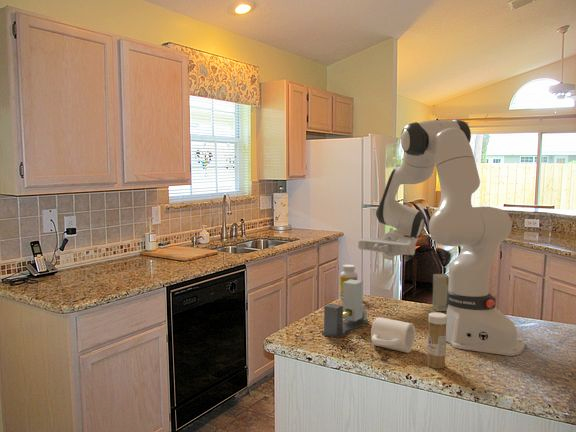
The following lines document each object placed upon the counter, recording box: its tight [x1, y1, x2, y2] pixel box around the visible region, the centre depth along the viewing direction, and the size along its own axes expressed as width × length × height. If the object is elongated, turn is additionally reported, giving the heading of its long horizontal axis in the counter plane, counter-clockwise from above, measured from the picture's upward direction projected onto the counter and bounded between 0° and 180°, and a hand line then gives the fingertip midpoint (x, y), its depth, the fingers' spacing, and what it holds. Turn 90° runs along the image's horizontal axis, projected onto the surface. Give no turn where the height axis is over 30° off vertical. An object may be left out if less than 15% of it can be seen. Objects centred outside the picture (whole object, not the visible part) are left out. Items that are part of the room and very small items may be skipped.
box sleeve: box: [342, 279, 364, 321], centre depth 155 cm, size 4×5×12 cm
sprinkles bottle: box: [426, 311, 447, 369], centre depth 122 cm, size 5×5×13 cm
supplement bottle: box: [339, 264, 358, 300], centre depth 186 cm, size 7×7×13 cm
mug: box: [370, 316, 416, 354], centre depth 133 cm, size 12×10×8 cm
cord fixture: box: [321, 303, 369, 339], centre depth 151 cm, size 6×19×9 cm, turn 145°
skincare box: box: [432, 273, 449, 312], centre depth 171 cm, size 6×4×12 cm
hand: (376, 249), depth 168 cm, fingers closed
